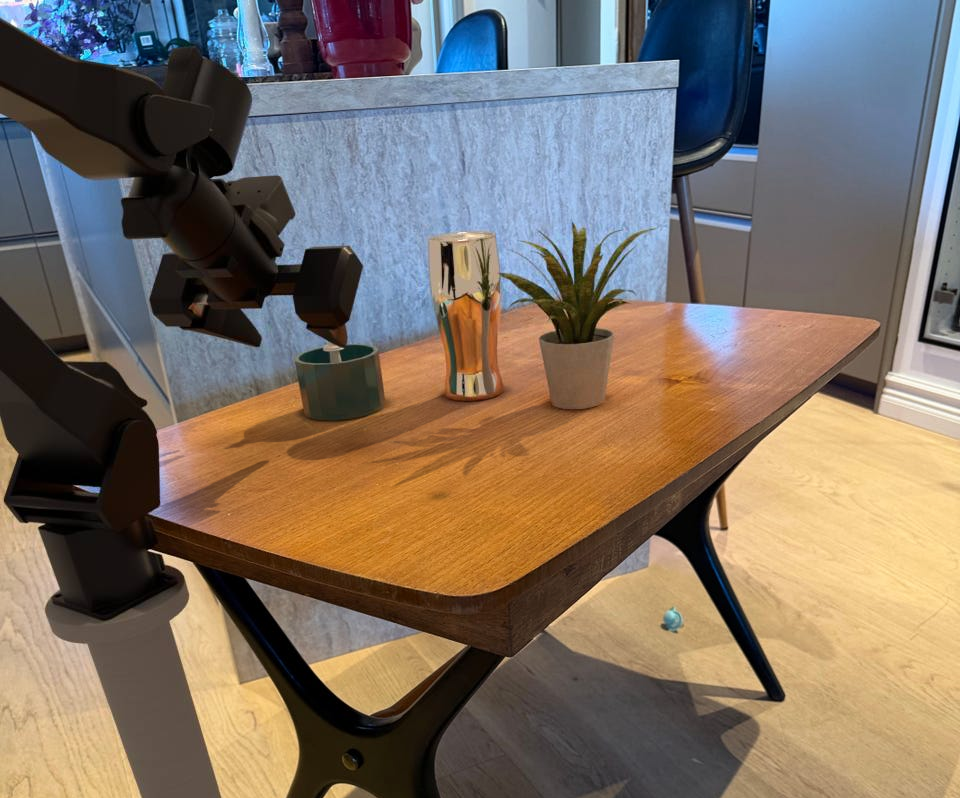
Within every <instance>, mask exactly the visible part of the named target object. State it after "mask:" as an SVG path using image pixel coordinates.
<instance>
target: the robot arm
mask: <svg viewBox="0 0 960 798" xmlns="http://www.w3.org/2000/svg"><path fill="white" fill-rule="evenodd" d="M166 67H167V68H166V74H165V77H164V79H163V80H164V81H163V83H162V86H160V85H159V84H158V83H157V82H156V81H155V80H153V79H152V78H151V77H148V76H146V75H143V74H140V73H138V72H135V71H132V70H129V69H126V68H124V67H121V66H119V65H115V64H110V63H104V62H97V61H92V60H86V59H81V58H76V57H73V56H70V55H66V54H64V53H61V52H59V51H58V50H55V49H54V48H52V47H51V46H49V45H48V44H46V43H44V42H42V41H40V40H39V39H37V38H36V37H34V36H32V35H30V34H29V33H28V32H25V31H23V29H21V28H18V27H17V26H16V25H13V24H12V23H11V22H9V21H7V20H5V19H3V18H2V17H0V115H2V116H4V117H7V118H8V119H11V120H13V121H15V122H16V123H18V124H19V125H21V126H22V127H24V128H25V129H27V130H28V131H30V132H31V133H32V134H33V136H34V137H35V139H36V141H37V142H38V143H39V145H40V147H41V148H42V149H43V151H44V152H45V153H46V154H48V155H49V156H50V157H52V158H53V159H55V160H56V161H58V162H59V163H60V164H62V165H63V166H65V167H66V168H68V169H70V170H71V171H72V172H73V173H75V174H76V175H78V176H80V177H81V178H83V179H87V180H91V181H103V180H104V181H105V180H117V179H118V180H119V179H131V178H133V181H132V183H131V186H130V190H129V193H128V196H127V197H121V198H120V205H121V209H122V217H121V230H122V235H123V237H124V238H125V239H126V240H129V241H130V240H150V239H151V240H152V239H161V240H162V241H163V242H164V243H165V244H166V245H167V247H169V248H170V250H171V251H170V252H167V253H163V254H162V255H161V258H160V263H159V265H158V269H157V272H156V274H155V275H156V276H155V279H154V282H153V284H152V288H151V291H150V295H149V298H148V302H149V306H150V307H149V308H150V310H151V313H152V315H153V316H154V317H155V319H157V320H159V321H160V322H161V323H162V324H163V325H164V326H165V327H168V328H169V327H170V328H174V327H175V328H179V329H181V330H182V331H190V332H193V333H194V332H195V333H199V334H202V335H207V336H210V337H211V336H212V337H215V338H220V339H223V340H227V341H231V342H234V343H239V344H242V345H244V346H245V345H246V346H248V347H253V348H260V347H261V345H262V341H263V337H262V335H261V334H260V332H259V330H258V329H257V327H256V326H255V324H253V322H252V321H251V319H249V318H248V316H247V315H246V314H245V312H244V311H243V310H252V309H253V310H255V309H257V310H259V309H263V307H264V303H265V300H266V298H268V297H270V296H271V297H273V296H292V300H293V301H292V302H293V306H294V307H293V308H294V312H295V315H296V316H297V317H298V318H299V320H300V321H301V322H303V323H306V326H305V329H306V330H307V331H309V332H310V333H312V334H314V335H316V336H318V337H320V338H322V339H324V340H325V341H326V342H328V341H329V342H330V343H332V344H334V345H336V346H338V347H341V348H345V347H346V344H348V340H349V338H348V337H349V335H348V330H347V326H346V324H347V323H348V322H349V321H350V319H351V317H352V312H353V308H354V304H355V301H356V300H355V299H356V296H357V292H358V288H359V285H360V280H361V276H362V272H363V268H364V265H363V263H362V261H361V260H360V259H359V257H358V255H357V254H356V253H355V251H354V250H353V249H352V247H351V246H350V245H325V246H312V247H308V248H305V250H304V253H303V257H302V259H301V260H302V261H301V263H299V264H295V263H294V264H277V262H276V259H277V258H282V256H283V253H284V250H285V245H286V244H285V242H284V241H283V240H282V239H281V237H280V235H281V233H283V231H284V229H286V226H287V225H288V223H289V222H290V220H291V221H292V220H294V218H295V217H296V214H297V213H296V211H295V208H294V206H293V202H292V201H291V198H290V196H289V193H288V190H287V189H286V188H287V187H286V186H285V183H284V181H283V178H282V177H281V176H280V175H277V174H275V175H263V176H261V175H260V176H247V177H241V178H238V179H237V180H228V181H225V180H224V179H223V178H217V177H222V176H227V175H228V174H229V173H231V172H232V171H233V170H234V166H235V163H236V160H237V157H238V153H239V151H240V147H241V144H242V140H243V136H244V134H245V130H246V127H247V123H248V120H249V116H250V113H251V109H252V106H253V96H252V92H251V89H250V88H249V86H248V84H247V83H246V81H245V80H244V79H243V78H242V77H241V76H238V75H236V74H235V73H234V72H233V71H232V70H231V69H229V68H228V67H226V66H225V65H223V64H221V63H219V62H217V61H215V60H212V59H209V58H206V57H203V55H202V53H201V52H200V51H199V50H198V48H197V46H195V45H192V46H184V47H177V48H172V49H171V51H170V55H169V58H168V61H167V66H166ZM147 405H148V400H147V399H145V398H143V397H141V396H139V395H138V394H137V393H135V392H134V391H133V390H132V389H131V388H130V387H129V385H128V384H127V382H126V380H125V379H124V378H123V376H122V375H121V373H120V372H119V370H117V369H116V368H115V367H114V366H113V365H112V364H110V362H108V361H81V360H80V361H78V360H77V361H74V360H73V361H71V360H63V359H61V357H59V356H58V354H57V353H56V352H55V351H54V350H53V349H52V348H51V347H50V346H49V345H48V344H47V343H46V341H44V340H43V339H42V338H41V336H40V335H38V333H37V332H35V330H34V329H33V328H32V327H31V326H30V325H29V324H28V323H27V322H26V320H24V319H23V318H22V316H21V315H19V313H17V311H16V310H15V309H14V307H12V306H11V305H10V303H8V302H7V300H6V299H4V298H3V296H2V295H0V423H1V426H2V429H3V433H4V436H5V439H6V440H7V442H8V443H9V444H10V446H11V447H12V448H13V449H14V450H15V452H16V453H17V458H16V460H15V463H14V467H13V468H12V472H11V475H10V479H9V481H8V485H7V487H6V490H5V493H4V496H3V503H4V505H5V506H6V508H7V509H8V510H9V511H10V512H11V514H12V515H13V516H14V518H15V519H16V520H17V521H18V522H19V523H20V524H30V523H31V524H32V523H33V524H42V525H40V526H37V531H38V533H39V535H40V536H39V537H40V539H41V541H42V544H43V546H44V549H45V552H46V555H47V558H48V561H49V563H50V565H51V569H52V572H53V575H54V577H55V580H56V582H57V586H58V588H59V590H60V591H61V592H58V593H56V592H55V593H56V594H55V593H53V594H54V595H53V594H52V595H53V596H52V595H51V596H52V597H51V596H50V598H51V600H52V602H53V604H56V605H58V606H61V607H64V608H67V609H70V610H73V611H75V612H78V613H81V614H84V615H87V616H90V617H93V618H95V619H98V620H101V621H107V620H110V619H113V618H114V617H116V616H118V615H120V614H122V613H124V612H126V611H128V610H129V609H131V608H133V607H135V606H137V605H139V604H141V603H143V602H145V601H146V600H148V599H150V598H152V597H154V596H156V595H158V594H160V593H161V592H163V591H165V590H167V589H169V588H171V587H173V586H175V585H176V584H177V583H178V581H177V578H176V576H173V575H170V574H166V573H163V572H162V571H164V570H165V565H166V563H165V561H164V557H163V554H162V553H157V552H153V551H149V550H152V549H153V548H155V546H156V545H157V544H159V539H158V535H157V531H156V529H155V528H156V527H155V525H154V521H153V519H152V518H150V517H147V515H149V514H150V513H152V512H153V511H155V510H157V509H159V508H160V506H161V477H160V476H161V474H160V473H161V471H160V444H159V438H158V430H157V428H156V425H155V423H154V421H153V419H152V418H151V417H150V415H149V414H148V412H147V411H146V410H145V409H144V408H145V407H146V406H147ZM74 486H76V487H90V488H99V492H92V491H80V490H74Z"/></svg>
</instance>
